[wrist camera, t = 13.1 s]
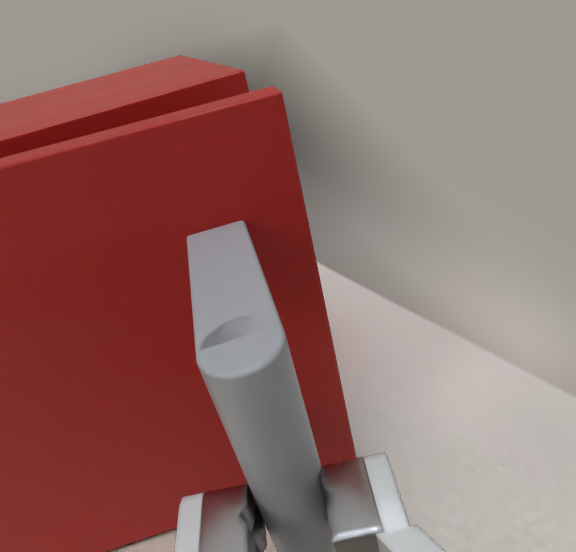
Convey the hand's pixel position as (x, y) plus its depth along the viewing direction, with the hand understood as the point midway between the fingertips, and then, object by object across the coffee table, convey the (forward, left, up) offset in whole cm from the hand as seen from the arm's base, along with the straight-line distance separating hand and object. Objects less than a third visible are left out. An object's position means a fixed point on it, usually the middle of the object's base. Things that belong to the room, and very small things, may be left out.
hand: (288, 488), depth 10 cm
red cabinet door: (+6, -3, -7) cm, 10 cm away
